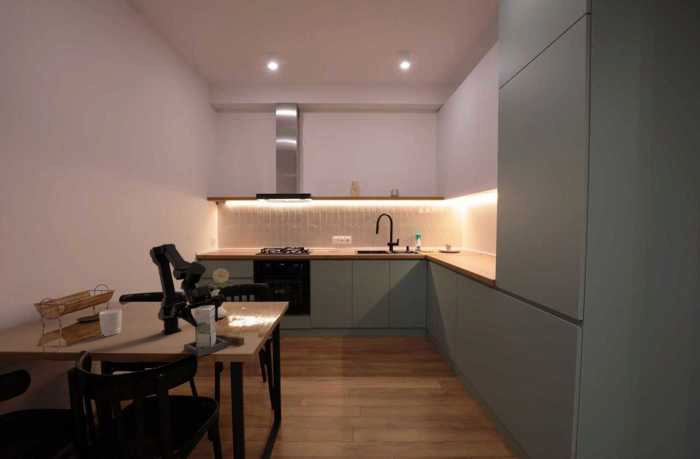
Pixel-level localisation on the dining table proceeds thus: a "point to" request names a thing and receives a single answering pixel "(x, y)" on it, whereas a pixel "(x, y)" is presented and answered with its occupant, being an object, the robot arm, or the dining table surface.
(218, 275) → the flower in vase
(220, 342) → the keeper frame
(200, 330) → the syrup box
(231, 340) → the walnut rail
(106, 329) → the white cup
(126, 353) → the dining table surface
